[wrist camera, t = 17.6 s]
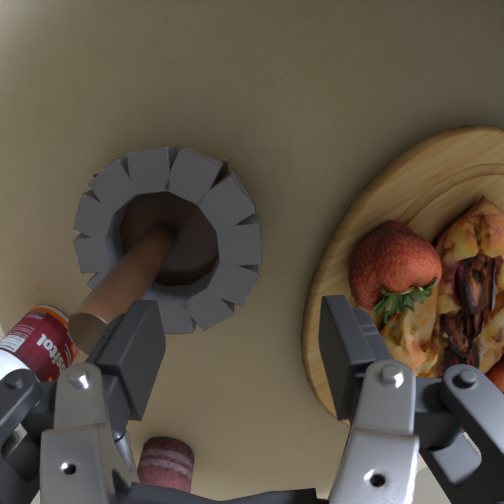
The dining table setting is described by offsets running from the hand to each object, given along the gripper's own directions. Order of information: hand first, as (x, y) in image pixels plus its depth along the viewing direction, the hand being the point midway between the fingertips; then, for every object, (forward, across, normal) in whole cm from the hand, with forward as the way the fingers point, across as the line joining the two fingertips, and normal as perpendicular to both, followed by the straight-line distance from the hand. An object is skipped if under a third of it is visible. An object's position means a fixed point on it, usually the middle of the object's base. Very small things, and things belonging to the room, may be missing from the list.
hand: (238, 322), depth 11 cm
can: (+12, +10, +26) cm, 31 cm away
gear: (+10, +5, 0) cm, 11 cm away
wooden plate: (+12, -20, +8) cm, 24 cm away
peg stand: (+12, +5, 0) cm, 13 cm away
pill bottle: (+12, +18, +9) cm, 23 cm away
